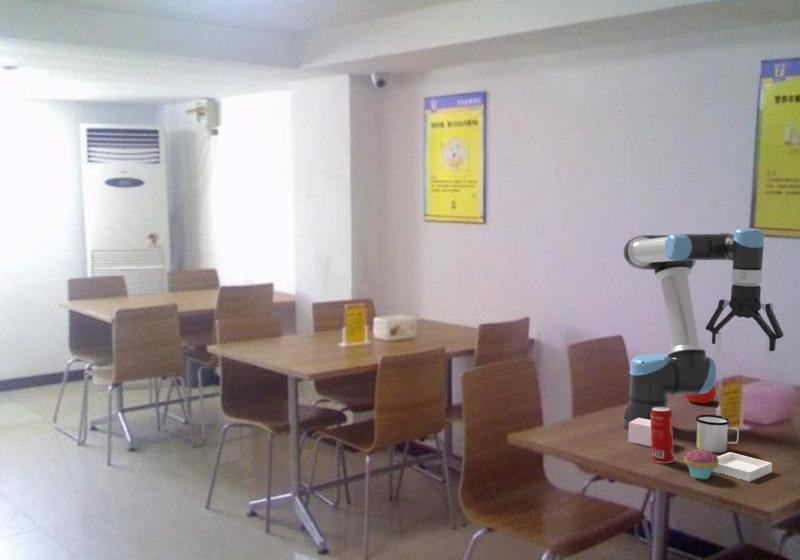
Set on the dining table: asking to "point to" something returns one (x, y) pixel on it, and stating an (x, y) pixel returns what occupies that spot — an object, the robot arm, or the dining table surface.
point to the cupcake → (700, 461)
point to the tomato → (702, 396)
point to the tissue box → (640, 432)
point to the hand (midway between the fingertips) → (742, 359)
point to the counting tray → (742, 466)
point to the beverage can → (661, 434)
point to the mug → (714, 433)
